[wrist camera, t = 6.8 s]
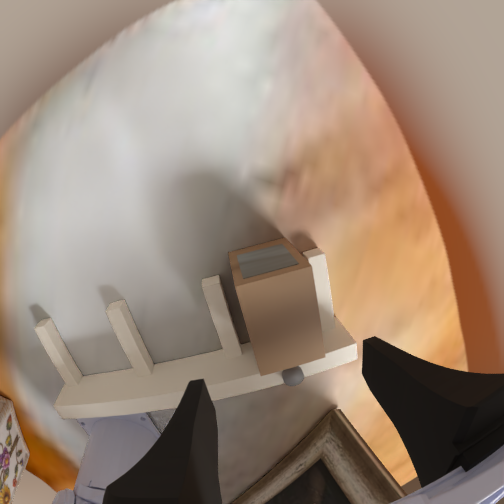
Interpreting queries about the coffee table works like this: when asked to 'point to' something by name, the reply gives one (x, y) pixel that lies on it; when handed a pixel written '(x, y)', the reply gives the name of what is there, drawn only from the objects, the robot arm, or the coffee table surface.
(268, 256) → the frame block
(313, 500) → the picture frame
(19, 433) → the decorative jar
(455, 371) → the robot arm
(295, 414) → the coffee table surface
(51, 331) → the cream pronged rack
